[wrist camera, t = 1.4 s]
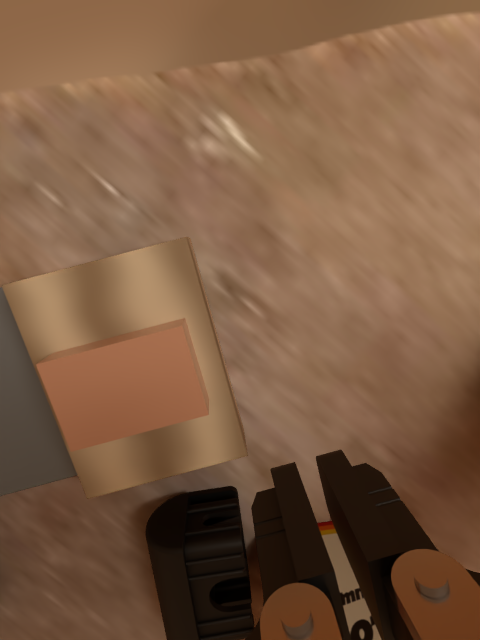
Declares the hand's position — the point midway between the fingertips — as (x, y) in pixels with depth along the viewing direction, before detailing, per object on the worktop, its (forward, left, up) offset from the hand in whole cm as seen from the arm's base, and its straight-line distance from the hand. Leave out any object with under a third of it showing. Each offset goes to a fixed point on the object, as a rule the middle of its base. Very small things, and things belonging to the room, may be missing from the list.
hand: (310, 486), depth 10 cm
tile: (+8, 0, -15) cm, 17 cm away
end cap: (+8, +17, -19) cm, 27 cm away
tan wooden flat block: (+8, 0, -19) cm, 21 cm away
